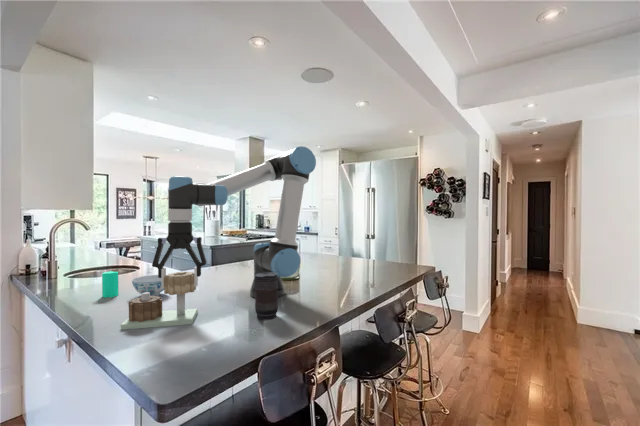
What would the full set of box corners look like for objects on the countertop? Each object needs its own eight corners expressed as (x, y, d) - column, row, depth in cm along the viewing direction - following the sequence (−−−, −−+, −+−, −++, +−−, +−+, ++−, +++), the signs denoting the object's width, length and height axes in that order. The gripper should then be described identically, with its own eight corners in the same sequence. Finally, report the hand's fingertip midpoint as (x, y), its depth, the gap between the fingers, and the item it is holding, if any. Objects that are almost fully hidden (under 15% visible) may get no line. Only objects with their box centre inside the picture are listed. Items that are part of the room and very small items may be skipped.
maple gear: (197, 287, 115) (197, 270, 115) (192, 293, 105) (192, 275, 105) (169, 289, 113) (168, 272, 113) (161, 295, 103) (160, 277, 103)
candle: (112, 297, 137) (112, 270, 137) (99, 297, 137) (98, 270, 137) (121, 294, 143) (121, 267, 143) (108, 294, 143) (108, 267, 143)
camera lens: (252, 315, 113) (252, 273, 113) (274, 312, 116) (274, 271, 116) (257, 322, 105) (257, 277, 105) (280, 318, 108) (280, 275, 108)
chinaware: (147, 290, 149) (147, 274, 149) (177, 291, 147) (176, 275, 147) (123, 299, 134) (123, 281, 134) (155, 300, 132) (155, 282, 132)
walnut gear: (159, 310, 113) (159, 294, 113) (164, 318, 105) (164, 300, 105) (128, 316, 107) (127, 298, 107) (130, 324, 100) (130, 305, 99)
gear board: (197, 312, 116) (197, 286, 116) (191, 324, 104) (191, 294, 104) (134, 317, 111) (133, 290, 111) (120, 329, 99) (120, 299, 99)
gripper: (215, 221, 115) (215, 282, 115) (148, 221, 110) (147, 285, 110) (213, 221, 107) (212, 287, 107) (141, 222, 103) (140, 290, 102)
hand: (180, 286), depth 109 cm, fingers closed on maple gear, 10 cm apart
